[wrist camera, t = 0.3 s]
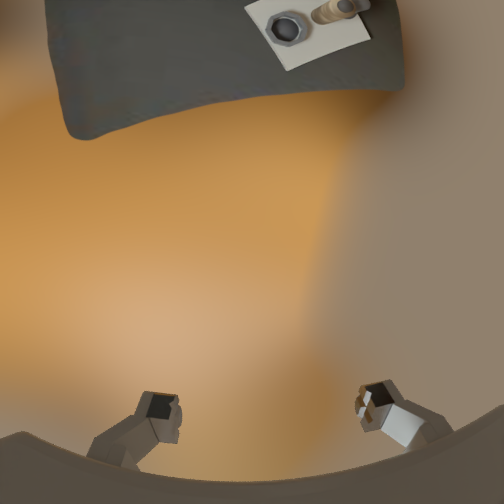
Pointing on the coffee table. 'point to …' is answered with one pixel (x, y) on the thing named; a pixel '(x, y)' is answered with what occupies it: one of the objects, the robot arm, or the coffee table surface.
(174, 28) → the coffee table surface
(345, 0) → the wooden leg
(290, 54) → the plate
